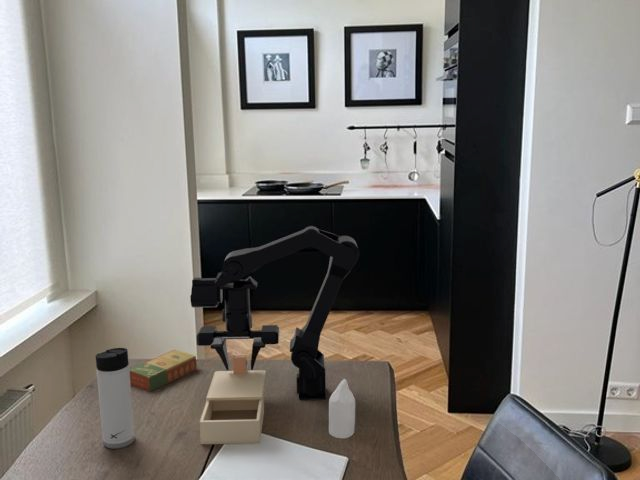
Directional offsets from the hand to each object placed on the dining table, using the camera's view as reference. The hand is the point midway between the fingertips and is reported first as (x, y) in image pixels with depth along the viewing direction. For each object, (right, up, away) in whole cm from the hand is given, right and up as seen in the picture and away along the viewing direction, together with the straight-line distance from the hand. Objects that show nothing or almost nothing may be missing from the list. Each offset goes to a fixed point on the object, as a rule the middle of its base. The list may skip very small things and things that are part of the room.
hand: (240, 369), depth 148 cm
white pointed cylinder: (+23, -10, -16) cm, 30 cm away
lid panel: (0, -3, -6) cm, 6 cm away
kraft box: (0, -10, -13) cm, 16 cm away
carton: (-21, -5, +13) cm, 25 cm away
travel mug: (-22, -11, -19) cm, 31 cm away
